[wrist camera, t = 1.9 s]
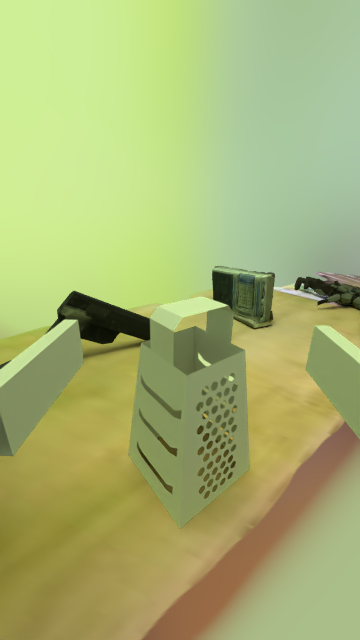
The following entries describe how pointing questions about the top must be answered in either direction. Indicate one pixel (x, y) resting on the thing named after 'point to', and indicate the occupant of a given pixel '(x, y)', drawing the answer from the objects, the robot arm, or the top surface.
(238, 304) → the radio
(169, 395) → the grater
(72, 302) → the handgun
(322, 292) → the toy
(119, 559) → the top surface
